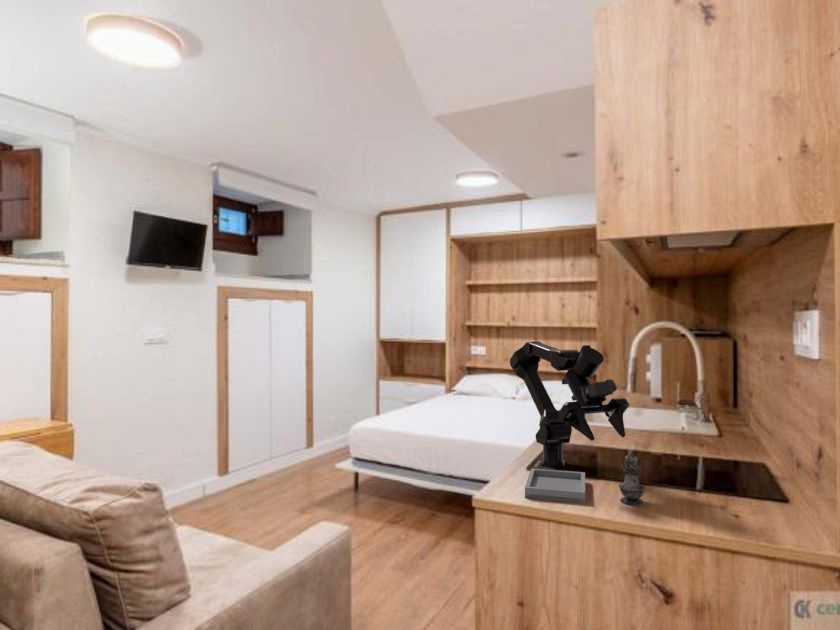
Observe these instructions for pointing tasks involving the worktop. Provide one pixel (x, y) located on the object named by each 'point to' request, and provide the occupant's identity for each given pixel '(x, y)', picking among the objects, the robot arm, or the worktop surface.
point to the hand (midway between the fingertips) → (608, 438)
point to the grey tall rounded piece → (631, 483)
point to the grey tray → (556, 485)
